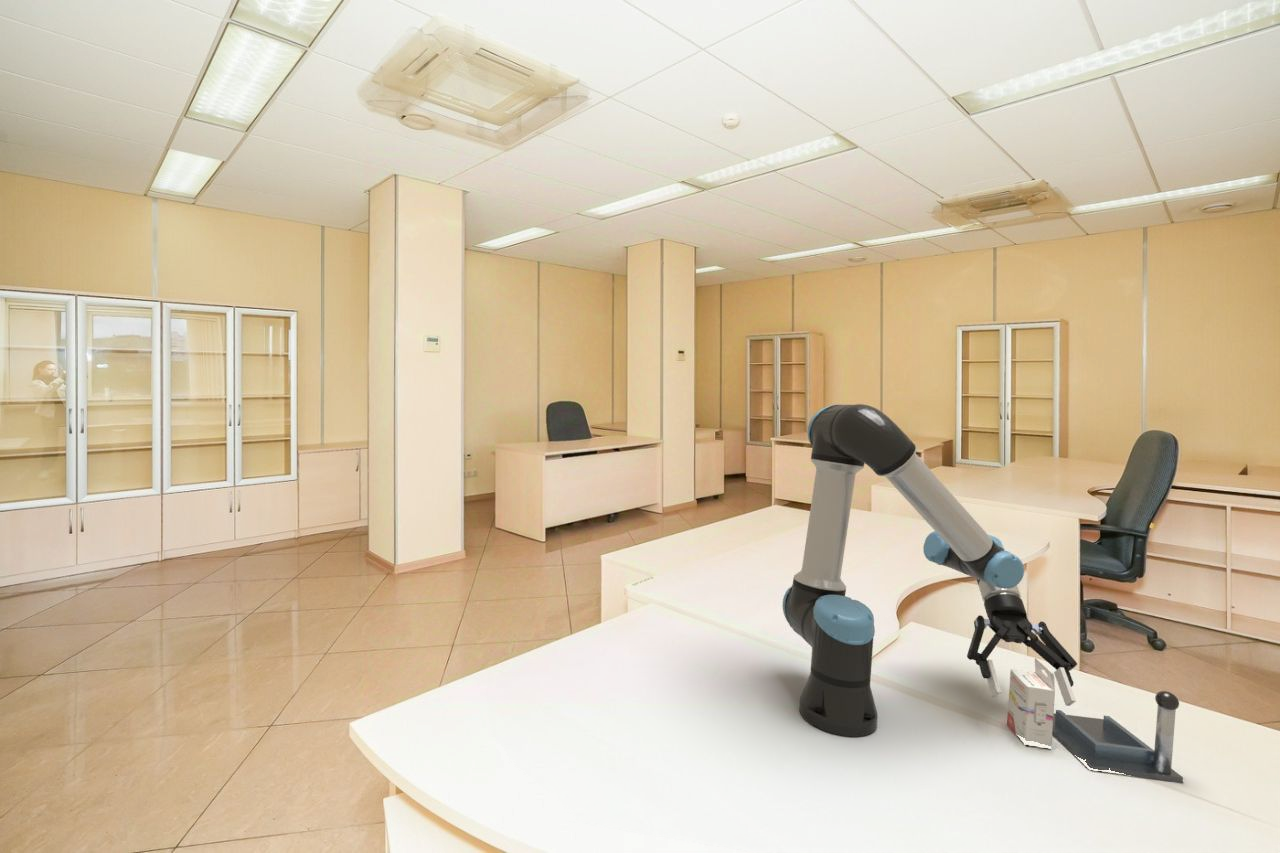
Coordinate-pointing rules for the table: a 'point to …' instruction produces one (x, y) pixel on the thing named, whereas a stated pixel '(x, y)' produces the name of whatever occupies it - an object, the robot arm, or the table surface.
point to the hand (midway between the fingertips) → (1033, 699)
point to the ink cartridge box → (1032, 704)
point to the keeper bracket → (1122, 742)
